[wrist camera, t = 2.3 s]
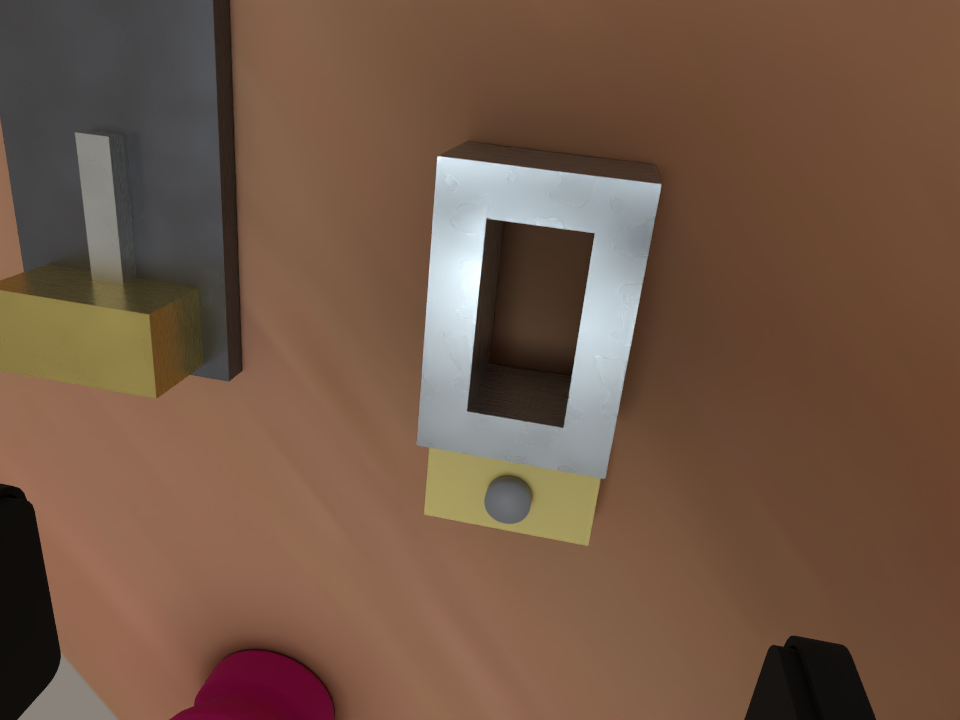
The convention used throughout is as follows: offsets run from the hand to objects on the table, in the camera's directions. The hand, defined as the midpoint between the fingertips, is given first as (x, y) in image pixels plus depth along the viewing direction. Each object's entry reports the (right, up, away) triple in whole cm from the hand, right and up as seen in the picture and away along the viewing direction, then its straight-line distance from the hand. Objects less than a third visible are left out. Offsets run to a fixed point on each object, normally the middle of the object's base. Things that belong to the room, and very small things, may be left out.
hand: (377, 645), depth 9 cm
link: (+3, +6, +16) cm, 17 cm away
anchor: (+3, 0, +18) cm, 19 cm away
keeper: (-11, +13, +16) cm, 23 cm away
